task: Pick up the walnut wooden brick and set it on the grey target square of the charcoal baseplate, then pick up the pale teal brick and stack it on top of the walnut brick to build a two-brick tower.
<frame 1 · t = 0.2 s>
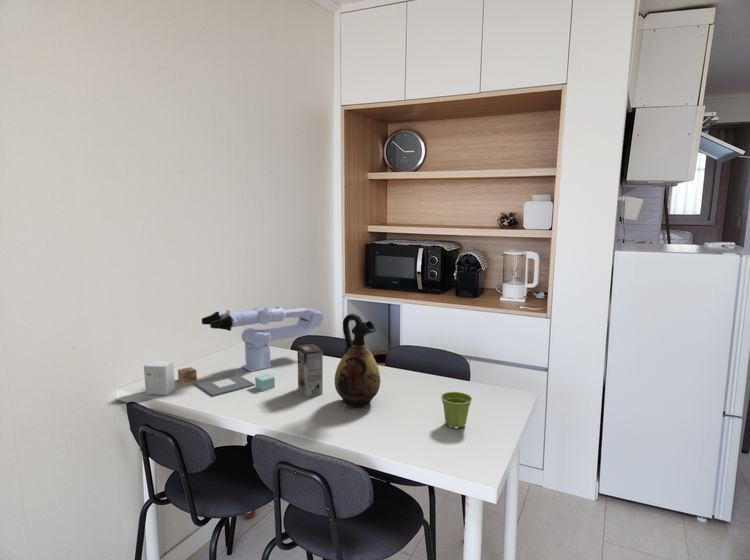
hand: (206, 323, 185), 22 cm above the table, tool horizontal, fingers open, 7 cm apart
brick teal: (265, 387, 180), on the table
plant pot: (455, 424, 151), on the table
small box: (160, 392, 175), on the table
brick walnut: (187, 380, 187), on the table
baseplate: (224, 384, 182), on the table
ceramic jug: (355, 402, 167), on the table
coffee box: (310, 392, 176), on the table
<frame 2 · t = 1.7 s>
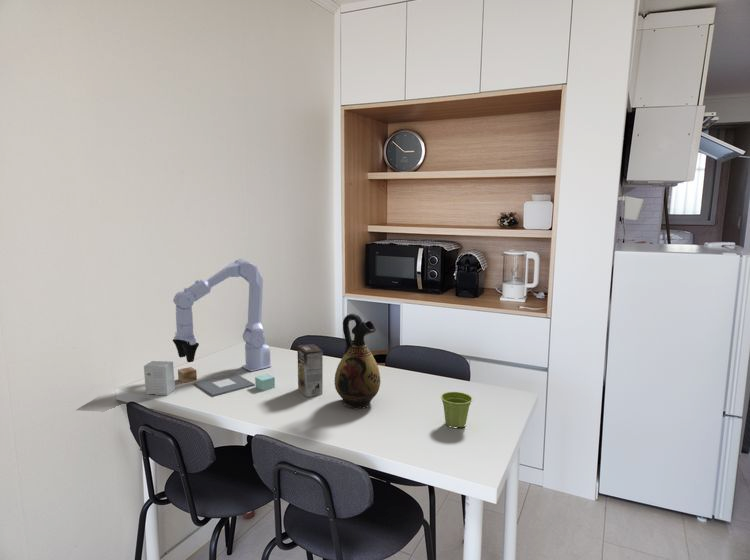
hand: (186, 359, 186), 8 cm above the table, tool pointing down, fingers open, 7 cm apart
nothing on the table moved.
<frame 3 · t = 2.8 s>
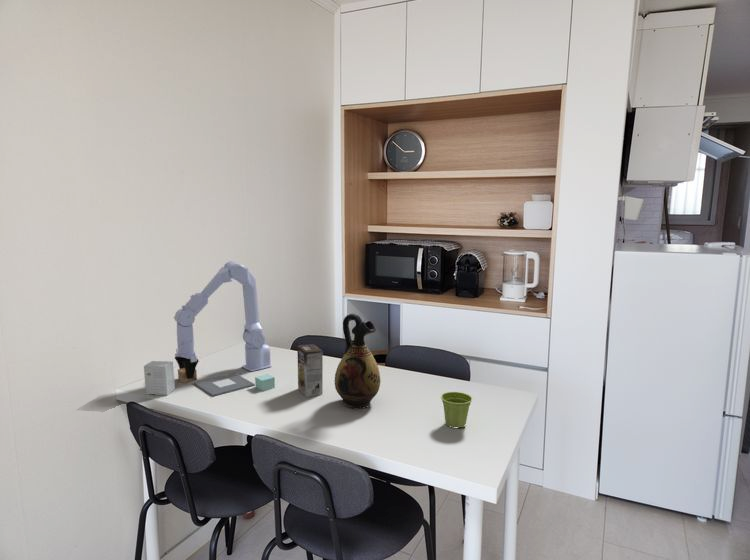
hand: (187, 376, 187), 1 cm above the table, tool pointing down, fingers closed on brick walnut, 5 cm apart
brick walnut: (187, 379, 187), on the table, touching gripper
everything else where it was.
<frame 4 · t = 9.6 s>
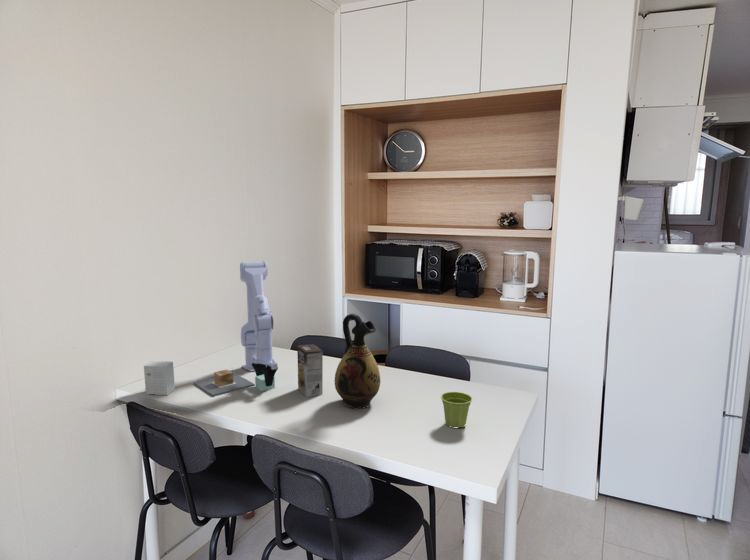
hand: (265, 383, 180), 1 cm above the table, tool pointing down, fingers closed on brick teal, 5 cm apart
brick teal: (265, 387, 180), on the table, touching gripper
brick walnut: (223, 382, 182), point 1 cm above the table, touching baseplate
everything else where it was.
when the fingers open (7 cm above the table, at t = 13.0 s): brick teal drops 1 cm, resting on brick walnut.
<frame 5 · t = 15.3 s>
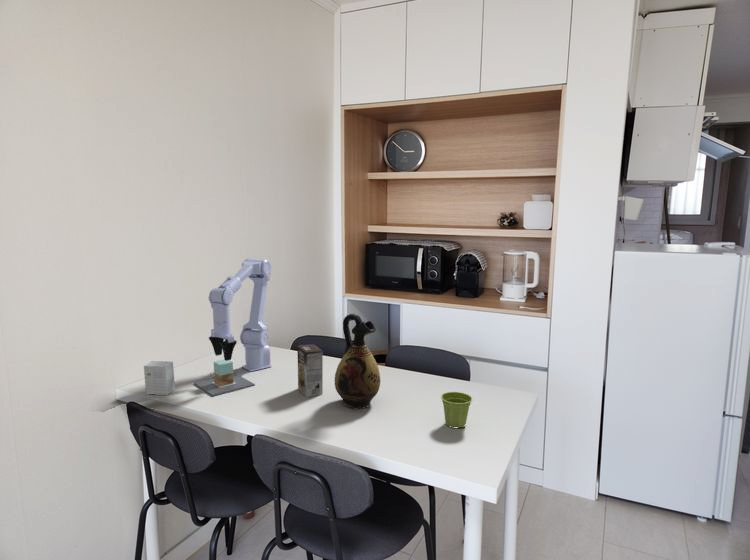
hand: (223, 357, 180), 10 cm above the table, tool pointing down, fingers open, 7 cm apart
brick teal: (223, 372, 181), point 5 cm above the table, touching brick walnut
brick walnut: (223, 383, 182), point 1 cm above the table, touching baseplate, brick teal
everything else where it was.
at the end: brick walnut 0.1 cm off-centre on the baseplate, point 0.7 cm above the baseplate's base; brick teal 0.1 cm off-centre on the baseplate, point 4.7 cm above the baseplate's base; brick teal tilted 0° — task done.
